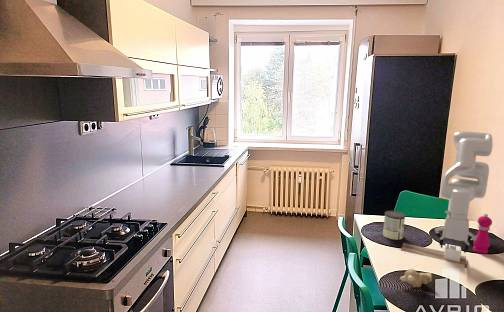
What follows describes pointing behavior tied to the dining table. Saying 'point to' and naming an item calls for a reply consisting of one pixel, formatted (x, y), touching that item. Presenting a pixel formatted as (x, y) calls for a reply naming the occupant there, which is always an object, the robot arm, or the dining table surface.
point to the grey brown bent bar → (430, 253)
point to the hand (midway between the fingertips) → (452, 249)
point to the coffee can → (394, 225)
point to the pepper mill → (482, 235)
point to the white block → (452, 252)
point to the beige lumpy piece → (416, 278)
